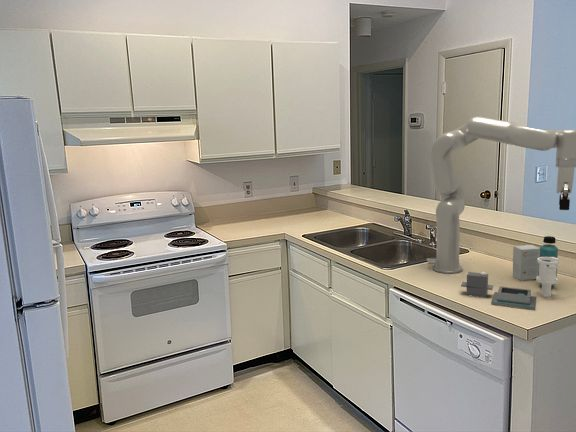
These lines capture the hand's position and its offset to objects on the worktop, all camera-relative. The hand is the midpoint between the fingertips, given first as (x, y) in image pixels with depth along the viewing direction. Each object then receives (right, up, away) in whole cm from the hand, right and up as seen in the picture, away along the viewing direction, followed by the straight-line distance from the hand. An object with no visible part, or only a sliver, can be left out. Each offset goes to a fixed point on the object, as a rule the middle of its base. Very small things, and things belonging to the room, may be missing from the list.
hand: (563, 207), depth 188 cm
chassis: (-24, -34, -11) cm, 44 cm away
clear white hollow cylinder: (-10, -33, -7) cm, 35 cm away
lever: (-34, -33, -3) cm, 48 cm away
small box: (-8, -29, +13) cm, 33 cm away
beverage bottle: (-6, -31, +2) cm, 31 cm away
